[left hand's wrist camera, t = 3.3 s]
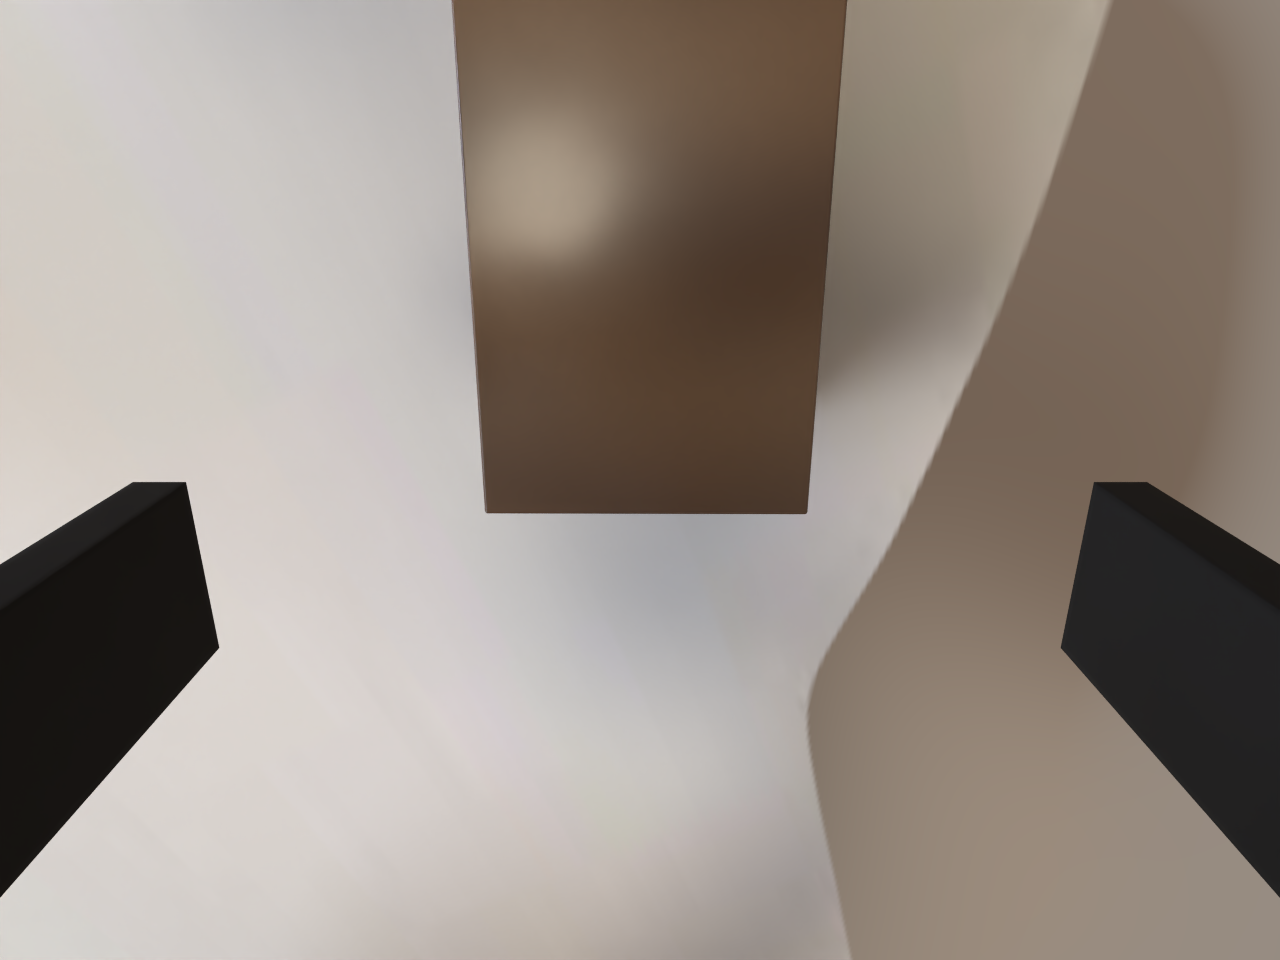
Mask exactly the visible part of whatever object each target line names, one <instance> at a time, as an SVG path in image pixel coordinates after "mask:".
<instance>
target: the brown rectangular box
mask: <svg viewBox="0 0 1280 960" xmlns="http://www.w3.org/2000/svg"><path fill="white" fill-rule="evenodd" d="M846 8H847V0H452V13H453V28H454V43H455V58H456V74H457V89H458V104H459V120H460V135H461V150H462V165H463V181H464V196H465V211H466V227H467V242H468V257H469V272H470V288H471V303H472V318H473V334H474V349H475V364H476V379H477V395H478V410H479V425H480V441H481V456H482V471H483V486H484V502H485V512H486V513H601V514H806V513H807V509H808V496H809V483H810V470H811V457H812V444H813V432H814V419H815V406H816V393H817V380H818V367H819V355H820V342H821V329H822V316H823V303H824V291H825V278H826V265H827V252H828V239H829V226H830V214H831V201H832V188H833V175H834V162H835V149H836V137H837V124H838V111H839V98H840V85H841V73H842V60H843V47H844V34H845V21H846Z"/></svg>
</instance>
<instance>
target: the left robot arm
mask: <svg viewBox="0 0 1280 960" xmlns="http://www.w3.org/2000/svg"><path fill="white" fill-rule="evenodd" d="M218 649H219V644H218V639H217V634H216V629H215V624H214V619H213V614H212V609H211V604H210V599H209V594H208V589H207V584H206V579H205V574H204V569H203V565H202V560H201V555H200V550H199V545H198V540H197V535H196V530H195V525H194V520H193V515H192V510H191V505H190V500H189V495H188V490H187V485H186V482H132V483H131V484H129V485H128V486H126V487H124V488H123V489H121V490H120V491H118V492H116V493H115V494H113V495H112V496H110V497H108V498H107V499H105V500H103V501H102V502H100V503H99V504H97V505H95V506H94V507H92V508H91V509H89V510H87V511H86V512H84V513H82V514H81V515H79V516H78V517H76V518H74V519H73V520H71V521H70V522H68V523H66V524H65V525H63V526H62V527H60V528H58V529H57V530H55V531H53V532H52V533H50V534H49V535H47V536H45V537H44V538H42V539H41V540H39V541H37V542H36V543H34V544H32V545H31V546H29V547H28V548H26V549H24V550H23V551H21V552H20V553H18V554H16V555H15V556H13V557H11V558H10V559H8V560H7V561H5V562H3V563H2V564H0V897H1V896H2V895H3V894H4V893H5V891H6V890H7V889H8V888H9V887H10V886H11V885H12V883H13V882H14V881H15V880H16V879H17V878H18V877H19V876H20V874H21V873H22V872H23V871H24V870H25V869H26V868H27V866H28V865H29V864H30V863H31V862H32V861H33V860H34V858H35V857H36V856H37V855H38V854H39V853H40V852H41V850H42V849H43V848H44V847H45V846H46V845H47V844H48V842H49V841H50V840H51V839H52V838H53V837H54V836H55V834H56V833H57V832H58V831H59V830H60V829H61V828H62V826H63V825H64V824H65V823H66V822H67V821H68V820H69V818H70V817H71V816H72V815H73V814H74V813H75V812H76V811H77V809H78V808H79V807H80V806H81V805H82V804H83V803H84V801H85V800H86V799H87V798H88V797H89V796H90V795H91V793H92V792H93V791H94V790H95V789H96V788H97V787H98V785H99V784H100V783H101V782H102V781H103V780H104V779H105V777H106V776H107V775H108V774H109V773H110V772H111V771H112V769H113V768H114V767H115V766H116V765H117V764H118V763H119V761H120V760H121V759H122V758H123V757H124V756H125V755H126V753H127V752H128V751H129V750H130V749H131V748H132V747H133V746H134V744H135V743H136V742H137V741H138V740H139V739H140V738H141V736H142V735H143V734H144V733H145V732H146V731H147V730H148V728H149V727H150V726H151V725H152V724H153V723H154V722H155V720H156V719H157V718H158V717H159V716H160V715H161V714H162V712H163V711H164V710H165V709H166V708H167V707H168V706H169V704H170V703H171V702H172V701H173V700H174V699H175V698H176V696H177V695H178V694H179V693H180V692H181V691H182V690H183V688H184V687H185V686H186V685H187V684H188V683H189V682H190V681H191V679H192V678H193V677H194V676H195V675H196V674H197V673H198V671H199V670H200V669H201V668H202V667H203V666H204V665H205V663H206V662H207V661H208V660H209V659H210V658H211V657H212V655H213V654H214V653H215V652H216V651H217V650H218ZM1061 649H1062V650H1063V651H1064V652H1065V653H1066V654H1067V655H1068V657H1069V658H1070V659H1071V660H1072V661H1073V662H1074V663H1075V664H1076V666H1077V667H1078V668H1079V669H1080V670H1081V671H1082V673H1083V674H1084V675H1085V676H1086V677H1087V678H1088V679H1089V681H1090V682H1091V683H1092V684H1093V685H1094V686H1095V687H1096V688H1097V690H1098V691H1099V692H1100V693H1101V694H1102V695H1103V696H1104V698H1105V699H1106V700H1107V701H1108V702H1109V703H1110V704H1111V706H1112V707H1113V708H1114V709H1115V710H1116V711H1117V712H1118V714H1119V715H1120V716H1121V717H1122V718H1123V719H1124V720H1125V722H1126V723H1127V724H1128V725H1129V726H1130V727H1131V728H1132V730H1133V731H1134V732H1135V733H1136V734H1137V735H1138V736H1139V738H1140V739H1141V740H1142V741H1143V742H1144V743H1145V744H1146V746H1147V747H1148V748H1149V749H1150V750H1151V751H1152V752H1153V753H1154V755H1155V756H1156V757H1157V758H1158V759H1159V760H1160V761H1161V763H1162V764H1163V765H1164V766H1165V767H1166V768H1167V769H1168V771H1169V772H1170V773H1171V774H1172V775H1173V776H1174V777H1175V779H1176V780H1177V781H1178V782H1179V783H1180V784H1181V785H1182V786H1183V788H1184V789H1185V790H1186V791H1187V792H1188V793H1189V795H1190V796H1191V797H1192V798H1193V799H1194V800H1195V801H1196V803H1197V804H1198V805H1199V806H1200V807H1201V808H1202V809H1203V811H1204V812H1205V813H1206V814H1207V815H1208V816H1209V817H1210V818H1211V820H1212V821H1213V822H1214V823H1215V824H1216V825H1217V826H1218V828H1219V829H1220V830H1221V831H1222V832H1223V833H1224V834H1225V836H1226V837H1227V838H1228V839H1229V840H1230V841H1231V842H1232V844H1233V845H1234V846H1235V847H1236V848H1237V849H1238V850H1239V852H1240V853H1241V854H1242V855H1243V856H1244V857H1245V858H1246V859H1247V861H1248V862H1249V863H1250V864H1251V865H1252V866H1253V867H1254V869H1255V870H1256V871H1257V872H1258V873H1259V874H1260V876H1261V877H1262V878H1263V879H1264V880H1265V881H1266V882H1267V883H1268V885H1269V886H1270V887H1271V888H1272V889H1273V890H1274V891H1275V893H1276V894H1277V895H1278V896H1279V897H1280V564H1278V563H1277V562H1275V561H1273V560H1272V559H1270V558H1268V557H1267V556H1265V555H1264V554H1262V553H1260V552H1259V551H1257V550H1256V549H1254V548H1252V547H1251V546H1249V545H1247V544H1246V543H1244V542H1243V541H1241V540H1239V539H1238V538H1236V537H1235V536H1233V535H1231V534H1230V533H1228V532H1227V531H1225V530H1223V529H1222V528H1220V527H1218V526H1217V525H1215V524H1214V523H1212V522H1210V521H1209V520H1207V519H1206V518H1204V517H1202V516H1201V515H1199V514H1198V513H1196V512H1194V511H1193V510H1191V509H1189V508H1188V507H1186V506H1185V505H1183V504H1181V503H1180V502H1178V501H1177V500H1175V499H1173V498H1172V497H1170V496H1168V495H1167V494H1165V493H1164V492H1162V491H1160V490H1159V489H1157V488H1156V487H1154V486H1152V485H1151V484H1149V483H1147V482H1094V485H1093V490H1092V495H1091V500H1090V505H1089V510H1088V515H1087V520H1086V525H1085V530H1084V535H1083V540H1082V545H1081V550H1080V555H1079V560H1078V565H1077V569H1076V574H1075V580H1074V585H1073V589H1072V594H1071V599H1070V605H1069V609H1068V614H1067V619H1066V624H1065V629H1064V634H1063V639H1062V644H1061Z"/></svg>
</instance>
